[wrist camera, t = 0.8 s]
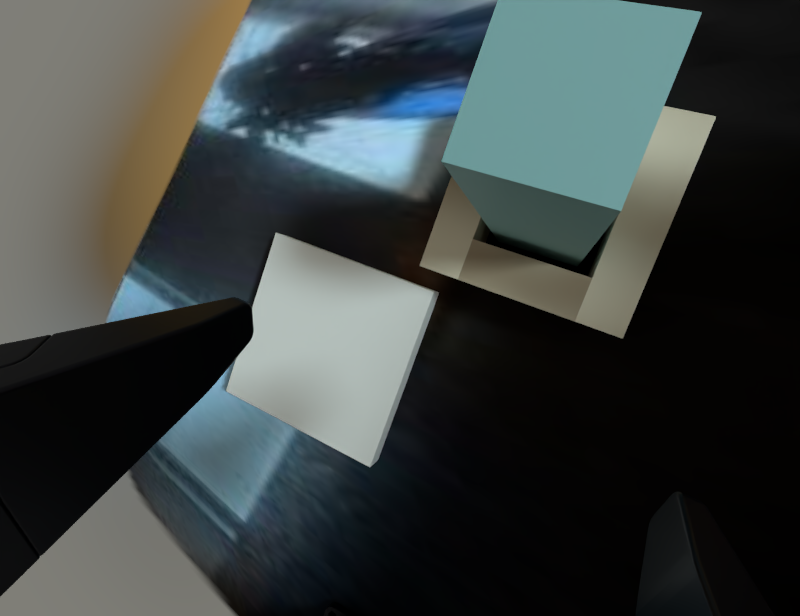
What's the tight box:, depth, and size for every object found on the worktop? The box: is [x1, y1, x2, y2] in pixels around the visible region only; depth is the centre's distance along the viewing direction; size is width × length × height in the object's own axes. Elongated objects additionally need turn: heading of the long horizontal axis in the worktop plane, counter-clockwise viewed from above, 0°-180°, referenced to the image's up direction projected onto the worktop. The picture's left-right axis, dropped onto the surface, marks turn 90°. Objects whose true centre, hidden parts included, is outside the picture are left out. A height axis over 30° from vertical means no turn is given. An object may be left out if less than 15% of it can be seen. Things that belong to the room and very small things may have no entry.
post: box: [441, 0, 702, 267], centre depth 15 cm, size 4×4×13 cm
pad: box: [226, 233, 439, 467], centre depth 25 cm, size 10×10×1 cm
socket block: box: [420, 106, 716, 339], centre depth 20 cm, size 9×9×4 cm
